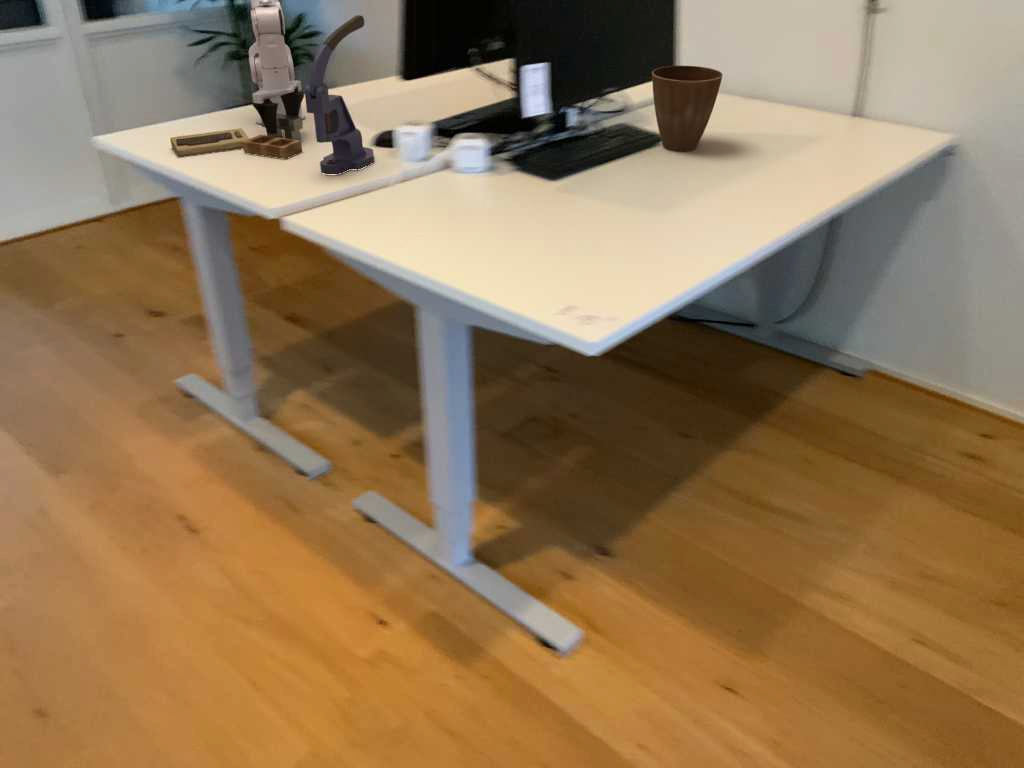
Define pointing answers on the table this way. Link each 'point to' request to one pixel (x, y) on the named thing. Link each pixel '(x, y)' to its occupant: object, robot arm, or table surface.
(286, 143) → the rectangular frame with crossbar
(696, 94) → the plant pot
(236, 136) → the beige retro keyboard
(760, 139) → the table surface
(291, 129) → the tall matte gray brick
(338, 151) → the hand press
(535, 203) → the table surface
